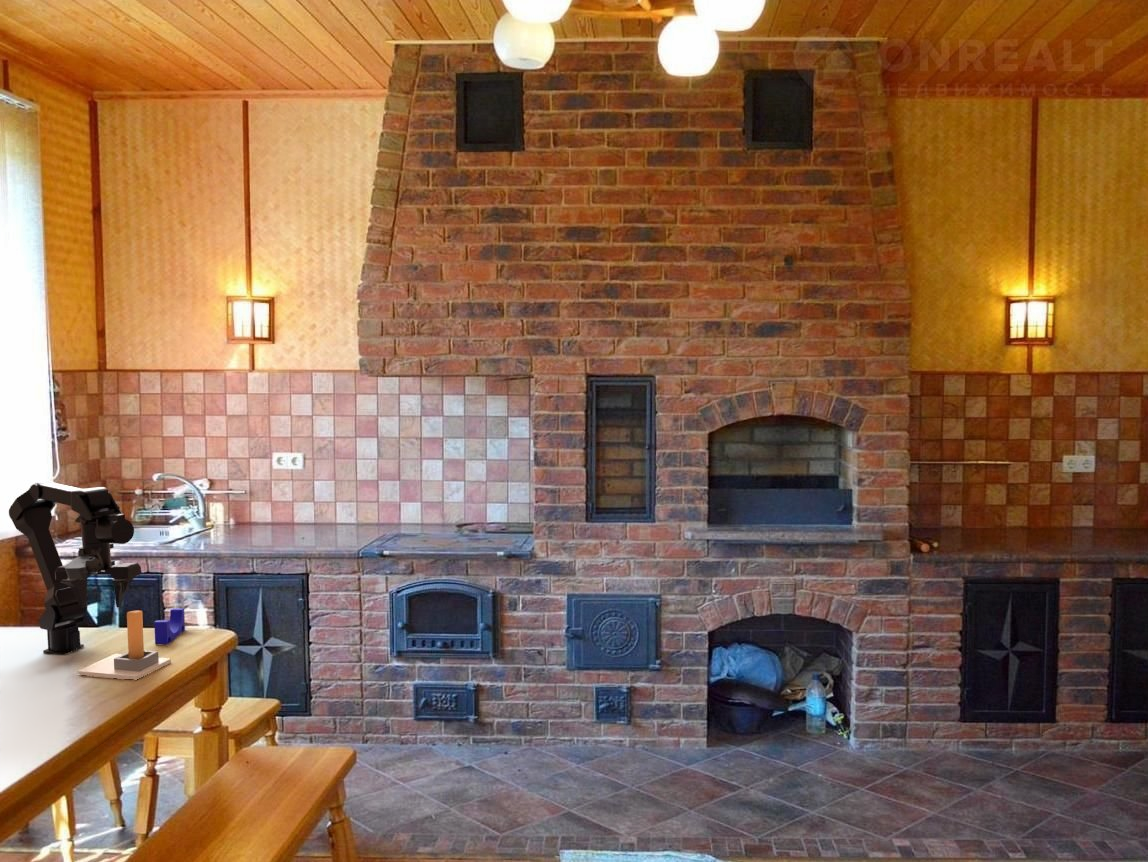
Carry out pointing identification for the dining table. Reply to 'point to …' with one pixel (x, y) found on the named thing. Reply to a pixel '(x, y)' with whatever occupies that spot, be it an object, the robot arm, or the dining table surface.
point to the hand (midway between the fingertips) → (101, 607)
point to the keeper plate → (125, 666)
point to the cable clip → (170, 627)
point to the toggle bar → (135, 635)
